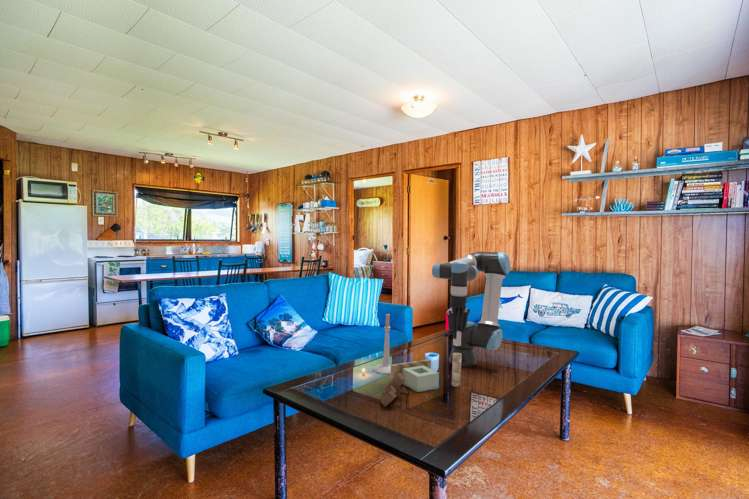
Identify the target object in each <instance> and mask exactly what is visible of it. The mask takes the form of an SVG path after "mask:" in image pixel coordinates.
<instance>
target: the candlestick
mask: <svg viewBox="0 0 749 499" xmlns="http://www.w3.org/2000/svg"><path fill="white" fill-rule="evenodd" d="M390 314H391V313H386V314H385V326H383V328H384V331H385V334H384V342H383V343H384V345H383V358H382V363H381V364H377V365H375V366H374V368H373V371H374V372H375V373H377V374H381V375H391V365H392V364H390V363H391V362H390V330H391V326H390V316H391V315H390Z"/></svg>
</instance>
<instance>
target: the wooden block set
mask: <svg viewBox="0 0 749 499" xmlns="http://www.w3.org/2000/svg"><path fill="white" fill-rule="evenodd" d="M404 381H405V376H404V375H403V374H402V373H398V374H397V375H396V376H395V377H394V378H393V379H392V380H391V381H388V383H386V384H385V385H384V387H383V390H384V392H383V393H382V394H381V396H382V398H381V400H380V402H381V404H382V405H383V406H384V407H385V408H386V407H388V406H389V404H390V403H391V402H393V401H394V400H395V399H396V397H397V394H396V393H397V390H398V388H399V387H401V385H403V384H402V383H403V382H404ZM398 392H399V393H401V394H405V395H407V394H408V393H409V391H408V390H407V389H406V387H405V386H403V387H402V388H401V389H400V390H399V391H398Z"/></svg>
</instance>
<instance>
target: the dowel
mask: <svg viewBox="0 0 749 499" xmlns="http://www.w3.org/2000/svg"><path fill="white" fill-rule="evenodd" d="M461 355H462V354H461V353H453V362H452V364H451V365H452V367H451V370H452V371H451V386H452V387H455V388H459V387H461V382H462V381H461V378H462V375H461V374H462V366H461Z"/></svg>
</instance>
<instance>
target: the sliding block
mask: <svg viewBox="0 0 749 499" xmlns="http://www.w3.org/2000/svg"><path fill="white" fill-rule="evenodd" d="M402 374H403V375H404V376H405V381H404V382H403V383H402V384H401V385H404V386H406V387H408V388H409V389H411V390H412V391H414V392H416V393H421V392H427V391H429V390H430V391H431V390H436V389H439V388H440V387H439V386H440V385H439V381H440V372H438V371H436V370H434V369H432V368H431V369H430V368H428V367H426V366H424V365H422V366H416V367H409V368H403V370H402Z"/></svg>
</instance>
